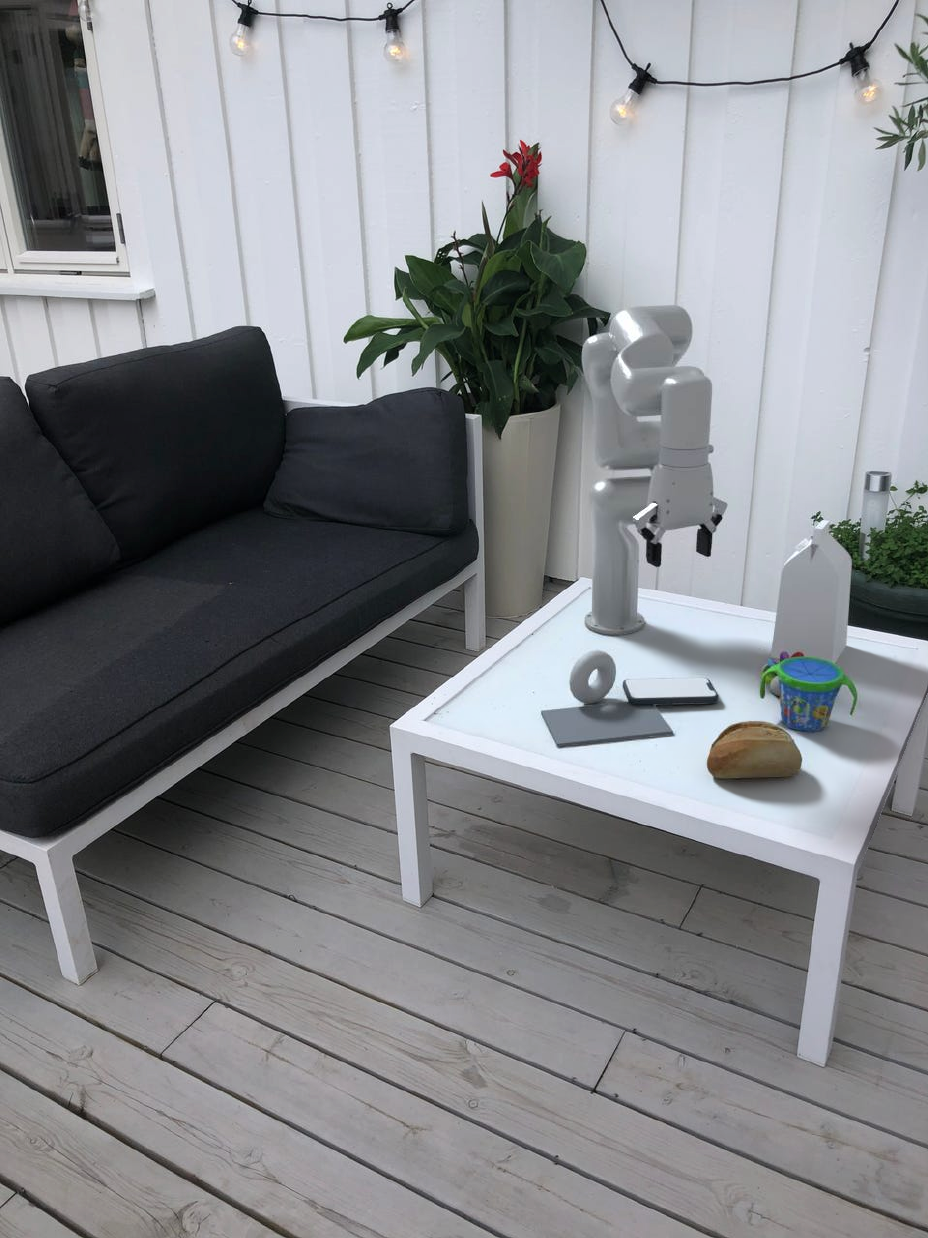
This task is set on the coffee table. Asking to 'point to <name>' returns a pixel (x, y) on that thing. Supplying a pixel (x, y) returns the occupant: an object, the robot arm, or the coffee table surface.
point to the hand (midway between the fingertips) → (678, 559)
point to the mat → (604, 723)
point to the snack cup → (808, 691)
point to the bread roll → (754, 752)
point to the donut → (583, 672)
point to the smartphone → (670, 691)
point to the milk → (814, 599)
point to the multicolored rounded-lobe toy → (773, 677)
